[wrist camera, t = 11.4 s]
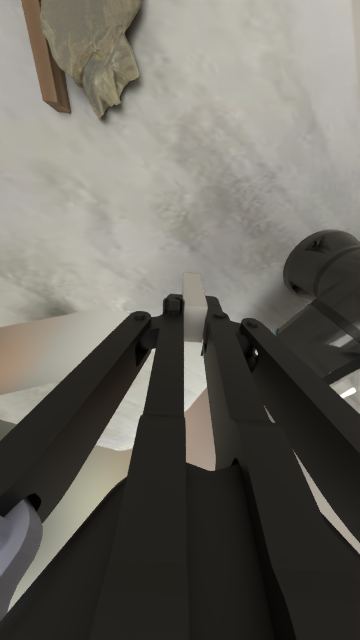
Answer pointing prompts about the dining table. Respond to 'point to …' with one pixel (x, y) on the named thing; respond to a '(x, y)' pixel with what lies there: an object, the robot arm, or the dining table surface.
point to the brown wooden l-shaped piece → (45, 60)
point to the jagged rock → (92, 45)
